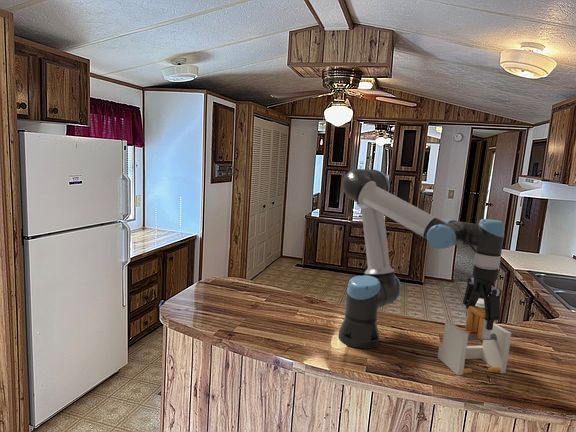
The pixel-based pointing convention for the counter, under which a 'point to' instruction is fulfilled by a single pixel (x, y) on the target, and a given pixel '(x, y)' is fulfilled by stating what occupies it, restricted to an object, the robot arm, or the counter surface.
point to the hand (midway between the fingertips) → (477, 332)
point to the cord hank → (475, 320)
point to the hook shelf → (474, 349)
